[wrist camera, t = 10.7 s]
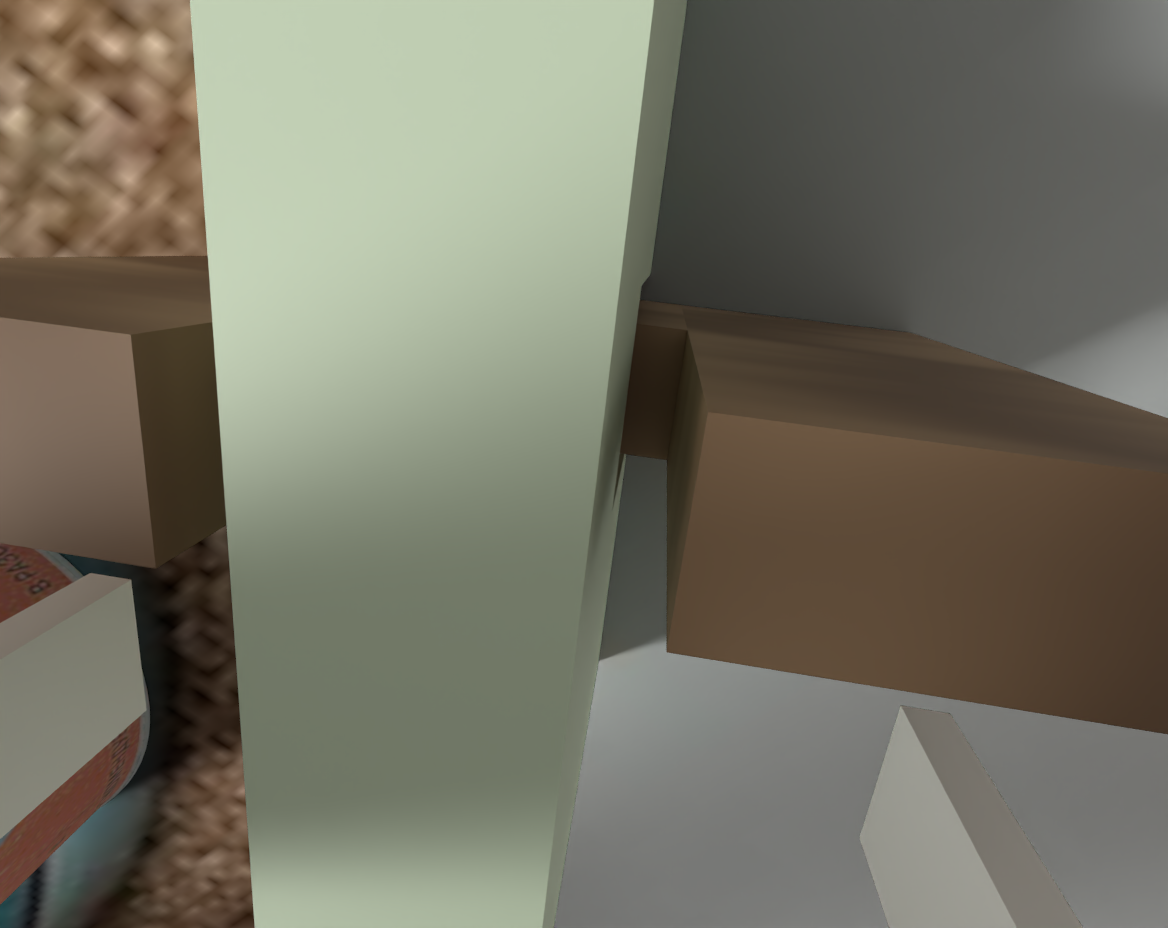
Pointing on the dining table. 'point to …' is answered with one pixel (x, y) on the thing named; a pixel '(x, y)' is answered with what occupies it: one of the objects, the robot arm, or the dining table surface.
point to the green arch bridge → (423, 426)
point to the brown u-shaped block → (693, 486)
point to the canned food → (3, 589)
